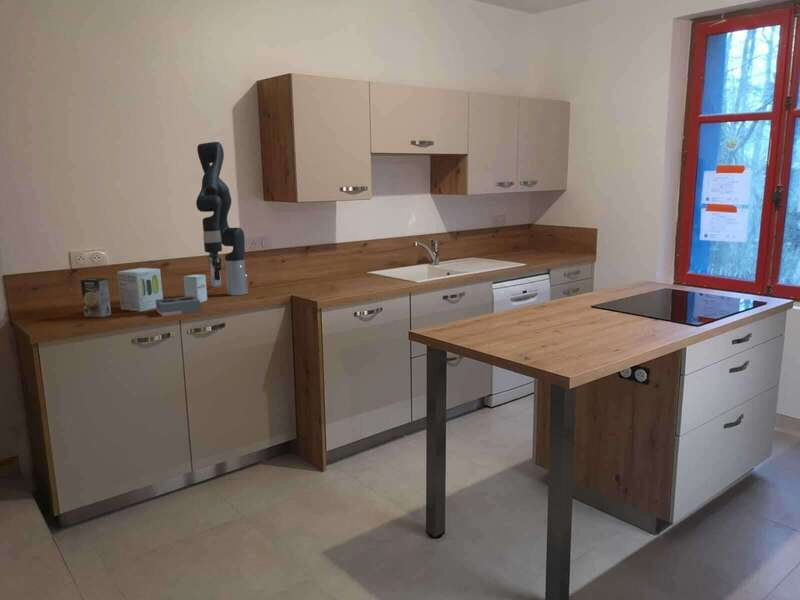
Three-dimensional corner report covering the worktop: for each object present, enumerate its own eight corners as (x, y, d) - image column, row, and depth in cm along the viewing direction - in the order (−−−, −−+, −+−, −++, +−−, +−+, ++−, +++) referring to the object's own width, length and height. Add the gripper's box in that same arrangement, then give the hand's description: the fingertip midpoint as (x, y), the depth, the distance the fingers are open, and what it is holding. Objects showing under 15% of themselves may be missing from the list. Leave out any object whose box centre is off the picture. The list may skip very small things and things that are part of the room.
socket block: (193, 306, 288) (192, 295, 287) (200, 311, 276) (199, 300, 275) (156, 311, 280) (155, 299, 279) (162, 316, 268) (161, 304, 267)
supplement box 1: (140, 311, 279) (136, 272, 276) (120, 309, 286) (116, 271, 282) (164, 306, 291) (160, 268, 287) (145, 304, 297) (141, 267, 294)
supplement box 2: (198, 303, 295) (195, 276, 293) (185, 303, 298) (182, 276, 295) (208, 300, 302) (205, 274, 300) (195, 300, 304) (193, 274, 302)
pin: (220, 285, 287) (218, 263, 285) (222, 286, 284) (220, 264, 282) (211, 286, 285) (209, 264, 283) (213, 287, 282) (211, 265, 280)
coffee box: (83, 316, 272) (79, 279, 269) (94, 313, 278) (89, 277, 275) (102, 317, 270) (98, 280, 267) (112, 314, 276) (108, 277, 273)
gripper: (225, 241, 276) (228, 280, 280) (216, 239, 288) (220, 276, 292) (208, 242, 273) (211, 282, 276) (200, 240, 285) (203, 278, 288)
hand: (216, 279), depth 284 cm, fingers closed on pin, 4 cm apart
